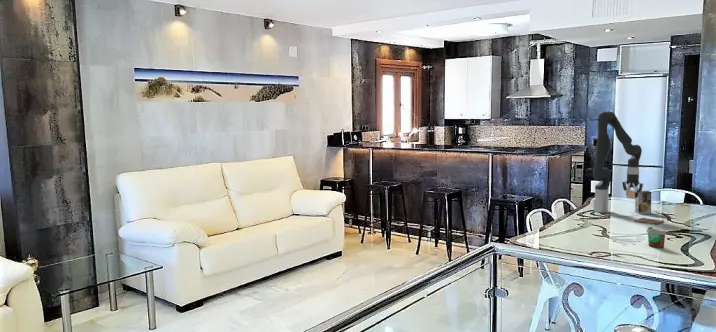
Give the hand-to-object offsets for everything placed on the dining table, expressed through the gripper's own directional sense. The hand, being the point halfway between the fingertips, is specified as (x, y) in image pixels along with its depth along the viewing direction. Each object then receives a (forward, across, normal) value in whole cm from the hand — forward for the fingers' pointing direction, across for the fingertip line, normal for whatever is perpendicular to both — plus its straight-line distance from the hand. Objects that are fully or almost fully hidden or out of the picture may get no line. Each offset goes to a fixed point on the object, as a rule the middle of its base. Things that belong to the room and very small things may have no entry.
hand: (632, 196), depth 379 cm
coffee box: (+15, -1, +20) cm, 25 cm away
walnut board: (+14, +15, -8) cm, 23 cm away
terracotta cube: (+1, 0, 0) cm, 1 cm away
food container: (+14, +43, -71) cm, 85 cm away
